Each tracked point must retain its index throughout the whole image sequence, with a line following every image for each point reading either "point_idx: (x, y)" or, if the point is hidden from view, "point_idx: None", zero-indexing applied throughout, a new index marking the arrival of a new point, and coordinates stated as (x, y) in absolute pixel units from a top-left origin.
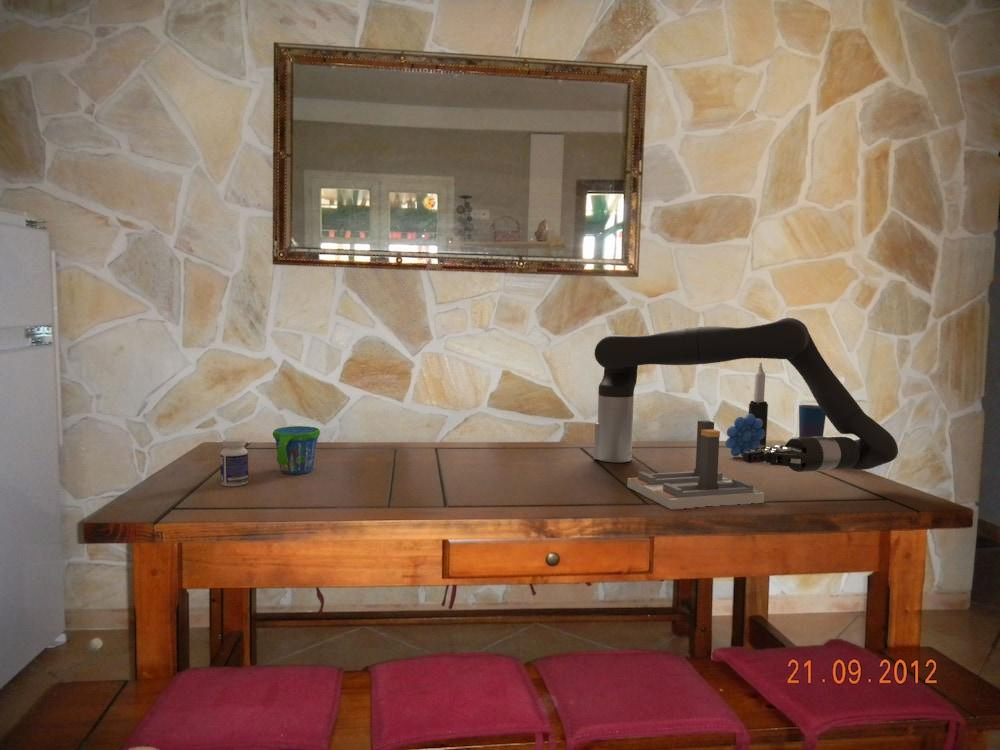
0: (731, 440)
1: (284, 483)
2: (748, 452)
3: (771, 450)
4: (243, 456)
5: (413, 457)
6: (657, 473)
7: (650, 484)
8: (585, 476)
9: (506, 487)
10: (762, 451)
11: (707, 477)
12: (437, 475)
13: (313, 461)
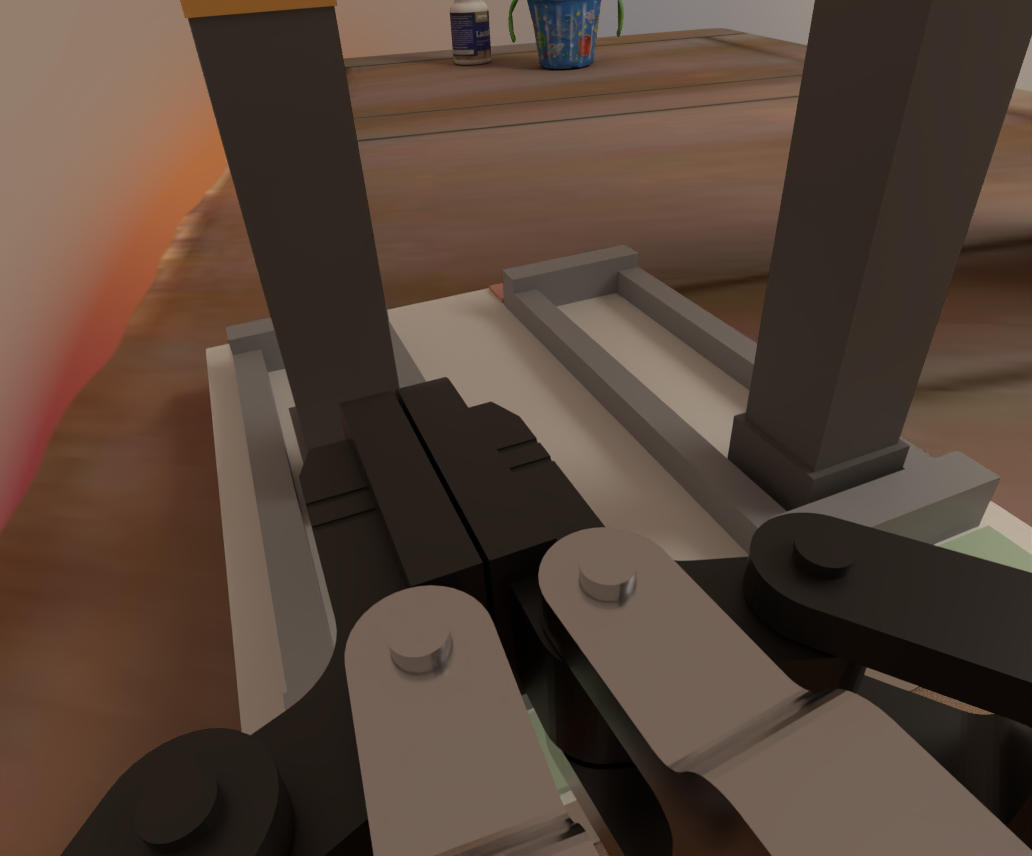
0: None
1: (485, 72)
2: (362, 401)
3: (546, 830)
4: (460, 15)
5: (767, 87)
6: (681, 298)
7: (505, 303)
8: (749, 227)
9: (519, 162)
10: (444, 589)
11: (285, 370)
12: (605, 114)
13: (568, 49)
